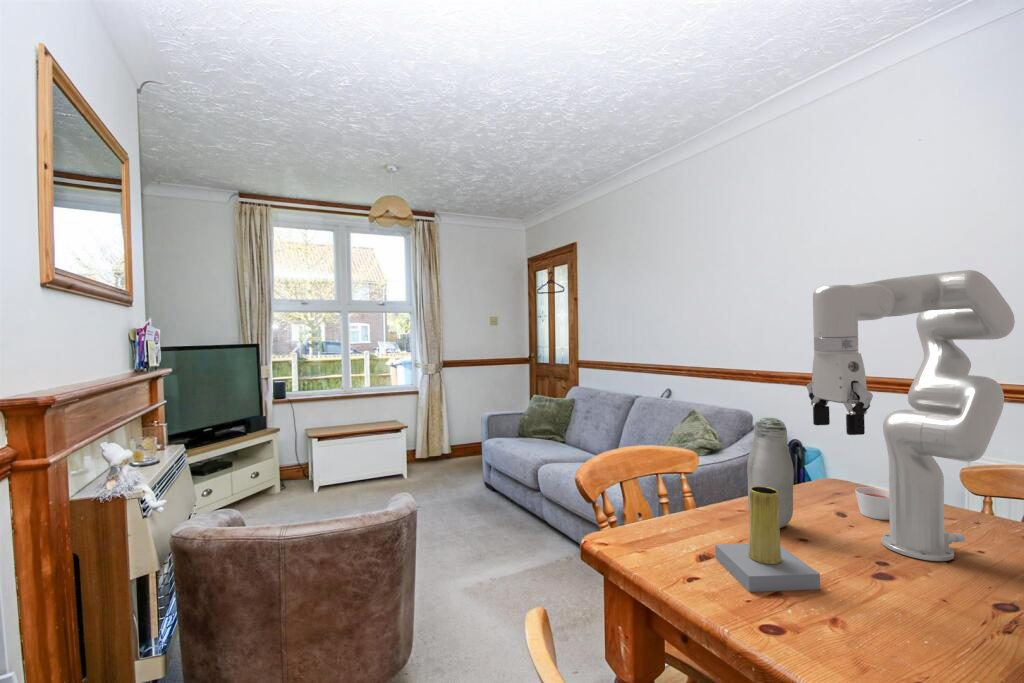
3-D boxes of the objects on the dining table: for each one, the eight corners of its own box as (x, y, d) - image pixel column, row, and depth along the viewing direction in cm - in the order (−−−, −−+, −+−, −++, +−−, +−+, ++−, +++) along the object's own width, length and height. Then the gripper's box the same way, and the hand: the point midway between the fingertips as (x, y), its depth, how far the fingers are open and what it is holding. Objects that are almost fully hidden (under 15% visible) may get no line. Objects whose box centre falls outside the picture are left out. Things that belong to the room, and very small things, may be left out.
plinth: (777, 556, 106) (776, 542, 106) (820, 589, 92) (819, 573, 92) (715, 558, 105) (715, 544, 105) (749, 591, 91) (748, 576, 91)
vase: (786, 566, 95) (785, 495, 95) (753, 563, 96) (752, 493, 96) (775, 552, 101) (774, 486, 101) (744, 550, 102) (743, 484, 102)
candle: (906, 521, 123) (906, 497, 123) (871, 522, 124) (871, 498, 124) (880, 509, 132) (879, 486, 132) (847, 509, 133) (847, 487, 133)
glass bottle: (768, 536, 116) (767, 422, 116) (740, 520, 126) (739, 415, 126) (803, 532, 118) (801, 420, 118) (772, 517, 128) (771, 414, 128)
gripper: (888, 346, 88) (890, 438, 88) (824, 344, 105) (826, 421, 106) (848, 347, 88) (851, 439, 88) (791, 345, 105) (793, 422, 105)
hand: (837, 429), depth 97 cm, fingers open, 9 cm apart
